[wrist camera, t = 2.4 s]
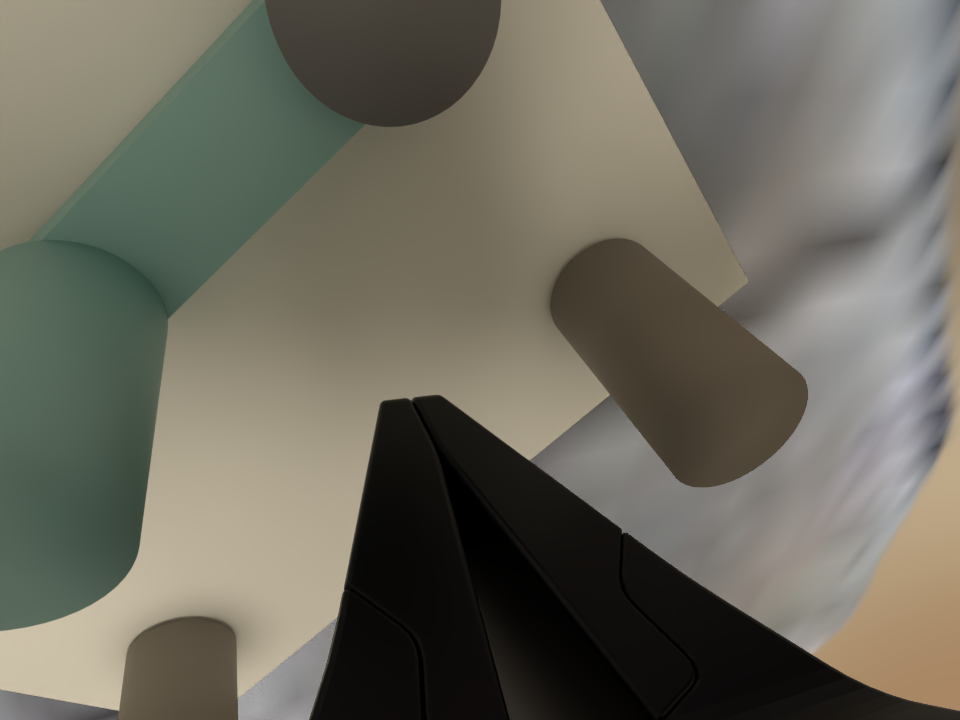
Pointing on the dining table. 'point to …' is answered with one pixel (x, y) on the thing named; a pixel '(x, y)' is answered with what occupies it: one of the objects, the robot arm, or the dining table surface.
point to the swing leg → (180, 260)
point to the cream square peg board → (377, 324)
